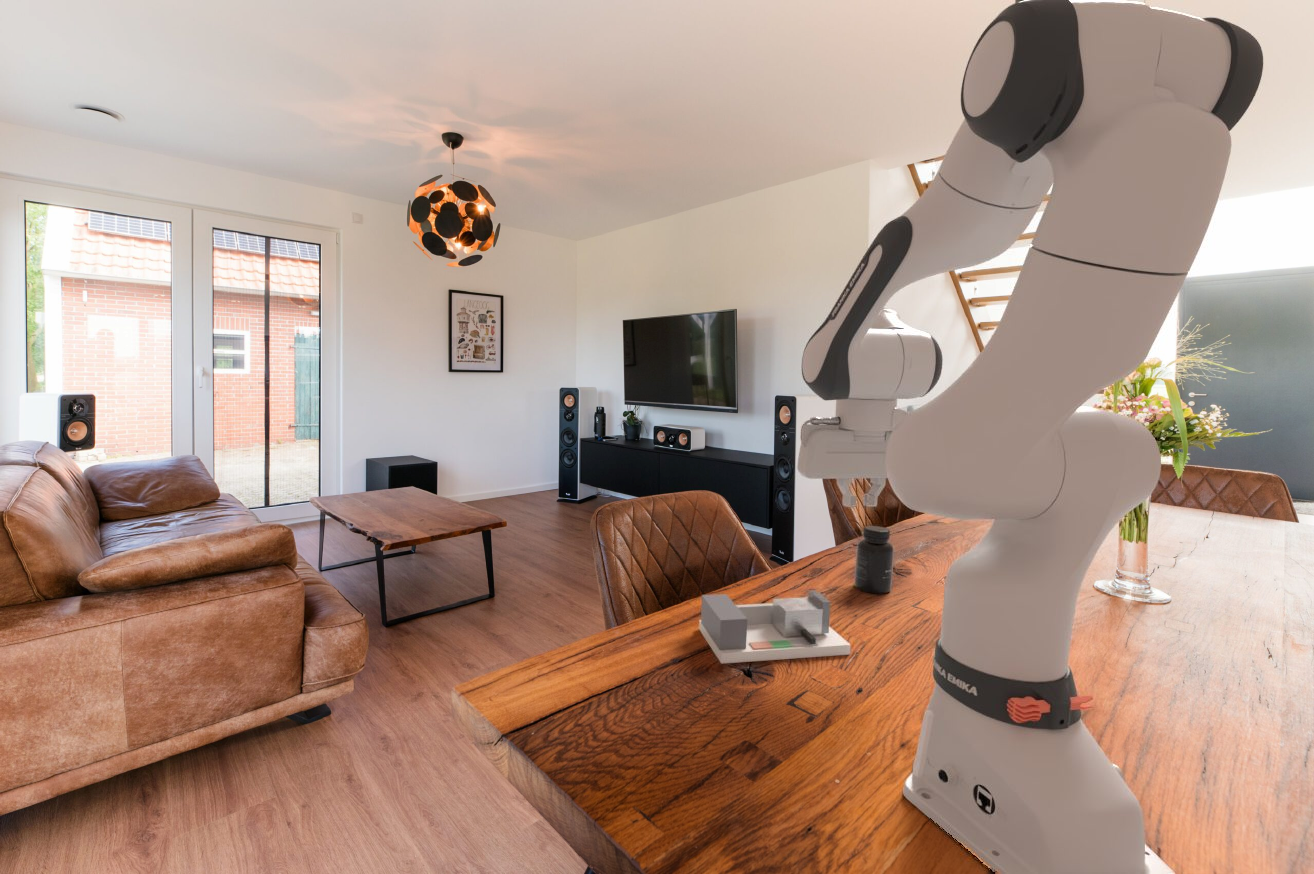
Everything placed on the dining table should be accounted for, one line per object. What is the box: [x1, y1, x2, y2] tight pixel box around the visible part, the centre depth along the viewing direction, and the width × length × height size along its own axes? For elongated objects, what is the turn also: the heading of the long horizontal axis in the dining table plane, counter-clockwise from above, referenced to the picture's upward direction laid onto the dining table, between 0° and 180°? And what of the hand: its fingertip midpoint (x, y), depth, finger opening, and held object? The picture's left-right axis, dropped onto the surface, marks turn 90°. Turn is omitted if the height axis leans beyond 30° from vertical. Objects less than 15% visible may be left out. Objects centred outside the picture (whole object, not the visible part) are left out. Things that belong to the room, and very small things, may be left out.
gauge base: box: [698, 593, 852, 664], centre depth 96 cm, size 12×20×6 cm, turn 102°
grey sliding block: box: [772, 589, 831, 644], centre depth 95 cm, size 8×7×5 cm
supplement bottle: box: [854, 525, 895, 595], centre depth 121 cm, size 7×7×12 cm
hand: (859, 506), depth 97 cm, fingers closed
